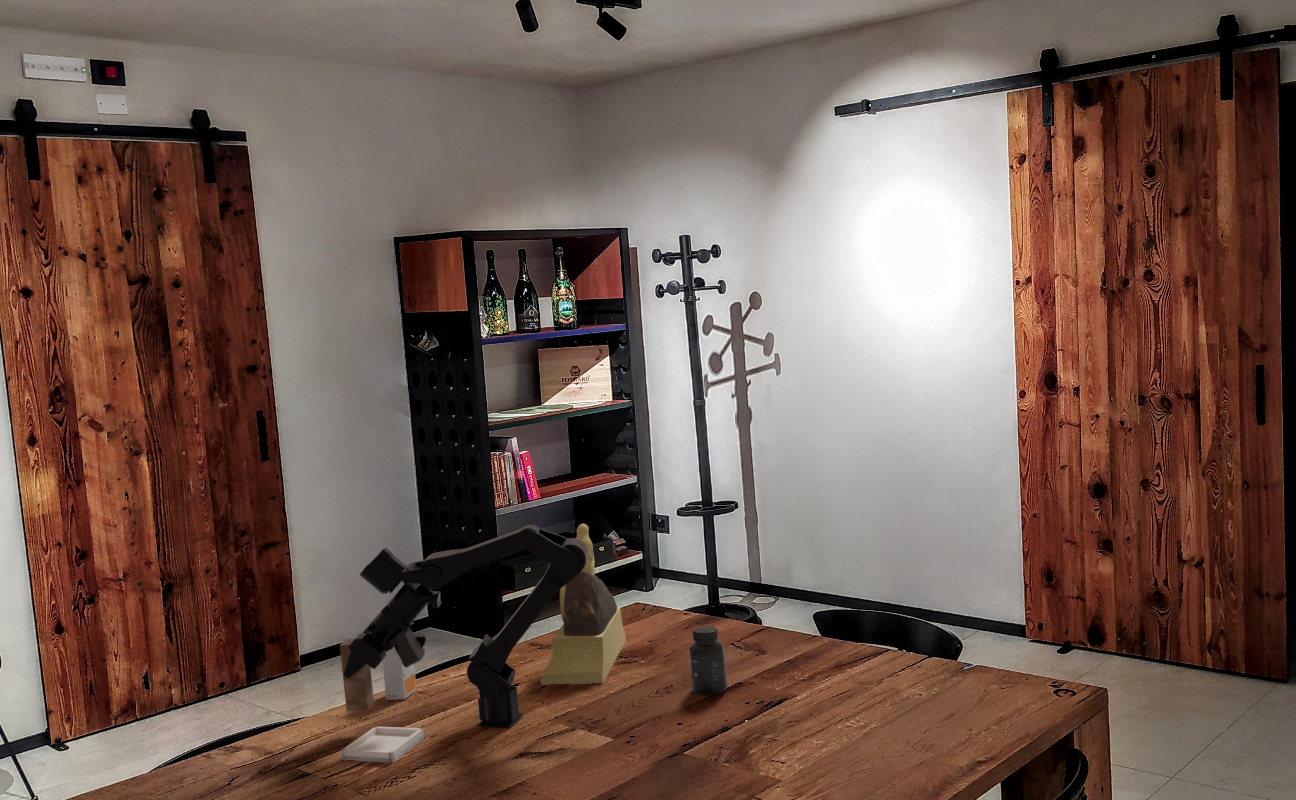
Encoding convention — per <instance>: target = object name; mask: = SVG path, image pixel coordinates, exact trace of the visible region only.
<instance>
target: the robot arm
mask: <svg viewBox="0 0 1296 800" xmlns="http://www.w3.org/2000/svg"><path fill="white" fill-rule="evenodd" d="M524 551H529V552H532V553H533V554H534V555H536V556H538V557H539V558H541V559H543V560H544V561H545V562H548V563H549V565H548V567H547V569H546V571H545V573H544V574H543V576H542V577H541V579H539V581H538V582H537V583H536V585H535V586H534V588H533V589H532V591H530V593H529V594H528V595H527V596H526V598H525V599H524V600H523V602H522V603H520V606H519V607H518V608H517V609H516V610H515V612H514V613H513V615H512V616H511V617H510V619H508V621H507V622H506V623H505V625H504V626H503V628H502V629H501V630H500V631H499V632H498V633H497V634H496V635H494V636H492V637H491V636H490V635H489V634H488V633H486V634H485V636H484V637H483V639H482V641H481V643H480V644H479V645H478V646H477V647H475V648H474V649H473V651H472V652H471V654H470V656H469V658H468V662H470V663H469V664H468V665H467V669H466V674H467V678H468V680H469V682H470V683H471V684H472V685H474V686H475V687H476V688H477V690H478V691H479V693H478V694H479V697H478V698H477V704H478V706H477V707H478V715H479V716H478V717H479V720H480V722H478V723H477V726H478V727H479V728H496V729H497V728H500V729H510V728H511V727H513V725H515V724H516V723H517V722H518V721H519V720H520V719H521V718H522V717H523V716H524V713H523V712H520V710H519V709H520V708H519V699H518V697H519V696H518V687H517V686H515V685H512V683H513V682H514V680H515V676H516V670H515V669H514V668H513V667H512V666H511V665H509V664H508V663H507V661H508V659H509V656H510V654H511V653H512V650H513V649H514V648H515V646H517V644H518V643H519V642H520V641H521V639H522V638H523V636H524V635H525V633H526V632H527V631H528V629H530V627H531V626H532V624H533V623H535V620H536V619H537V618H538V617H539V615H540V614H541V613H542V611H544V609H545V607H547V606H548V604H549V602H551V600H552V599H553V598H554V596H556V594H557V592H559V591H560V589H561V588H562V587H564V586H565V585H566V584H567V583H569V582H570V581H571V580H572V579H573V578H574V577H576V576H577V575H578V574H579V573H580V572H581V571H582V570H583V568H584V566H585V564H586V561H587V557H588V549H587V547H586V545H585V544H584V542H583V541H581V540H579V539H576V537H571V538H570V537H569V538H567V537H565V536H562V535H560V534H557V533H554V532H551V531H548V530H546V529H543V528H541V527H538V526H536V525H535V524H527V525H525V526H523V527H522V528H519V529H517V530H514V531H511V532H508V533H506V534H505V533H504V534H503V535H499V536H497V537H494V538H492V539H489V540H485V541H483V542H480V543H477V544H475V545H472V546H469V547H466V548H458V549H449V550H448V549H447V550H443V551H438V552H433V553H431V554H430V555H428V556H427V557H426V558H425V559H423V560H419V561H415V562H410V563H408V565H406V563H404V562H403V561H401V560H400V559H399V558H398V557H396V556H395V555H394V554H393V552H392V551H391V550H390V549H389V548H387V547H384V548H383V549H382V550H380V551H379V553H377V555H376V556H375V557H374V558H373V559H372V560H371V561H370V562H368V564H367V565H366V566H365V567H364V568H363V570H362V571H361V572H360V573H359V576H360V577H361V578H362V579H363V580H364V581H366V582H367V583H368V584H369V585H371V586H372V587H373V588H374V589H375V590H376V591H378V592H379V593H380V594H381V595H384V594H385V595H387V594H388V593H389V594H390V595H391V594H392V593H394V592H395V590H396V589H397V588H398V587H399V586H400V585H401V583H403V585H402V587H400V589H398V591H397V592H396V593H395V595H393V597H392V598H391V599H390V600H389V601H388V602H387V604H386V605H384V607H383V608H382V610H381V611H380V612H379V613H378V614H377V615H376V616H375V617H374V619H372V621H371V622H369V623H370V624H369V625H368V626H367V627H366V628H365V629H364V630H363V632H362V633H359V634H358V635H357V636H356V637H355V639H354V641H353V642H352V643H351V644H350V645H349V646H348V648H349V650H350V651H351V652H350V655H349V659H348V662H347V666H346V669H345V672H344V676H345V677H347V678H350V677H351V676H352V675H353V674H355V673H356V672H357V671H359V670H360V669H361V668H363V667H364V666H365V665H369V666H370V669H374V670H375V669H377V667H378V666H380V664H381V662H383V659H384V658H385V656H386V651H389V650H392V648H393V647H395V650H396V652H397V654H398V655H399V657H400V659H401V660H402V664H403V666H404V667H405V668H407V667H409V666H411V665H413V664H414V665H415V664H416V663H418V662H420V661H421V660H422V659H423V657H425V654H426V653H425V652H426V650H425V648H424V646H425V644H426V643H427V642H428V639H427V637H426V635H425V634H424V633H420V634H418V633H417V634H416V632H415V631H414V632H413V630H412V629H411V627H412V626H413V625H414V622H415V620H416V618H418V616H419V615H420V614H421V613H422V612H423V610H424V609H426V607H427V606H428V605H430V607H432V608H434V610H436V609H438V608H439V607H440V605H441V604H442V600H441V593H442V592H441V591H440V590H439V589H441V588H443V587H444V586H446V585H448V584H450V583H452V582H453V581H455V580H457V579H458V578H459V577H461V576H463V575H464V574H466V573H468V572H470V571H471V570H474V569H478V568H480V567H483V566H486V565H488V564H491V563H493V562H497V561H500V560H502V559H504V558H508V557H510V556H513V555H516V554H519V553H522V552H524ZM436 590H438V591H436Z"/></svg>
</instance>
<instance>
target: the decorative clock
mask: <svg viewBox="0 0 1296 800" xmlns="http://www.w3.org/2000/svg"><path fill="white" fill-rule="evenodd" d="M589 529H590V528H589V526H588V525H587V524H585V523H581V524H579V525H578V527H577V529H576V537H575V538H576V539H579V540H581V541H583V542H584V544H585V545H586V547H587V549H588V557H587V561H586V564H585V566H584V568H583V570H582V571H581V572H580V573H579V574H578V575H577V576H576V577H574V578H573V579H572V580H571V581H570V582H569V583H567V584H566V585H565V586H564V587H562V588H561V589H560V590H559V606H560V607H559V608H560V616H561V620H562V622H563V624H562V625H561V626H560V628H559V629H558V630H557V632H556V633H555V634H554V636H553V637H552V639H551V642H552V649H551V655H550V659H549V661H548V664H547V665H546V667H545V668H544V670H543V672H542V673H541V674H540V685H541V686H552V685H551V684H569V685H592V683H595V685H596V683H602V684H604V683H603V682H605V681H606V678H608V676H609V673H610V672H609V671H611V670H612V668H613V667H614V664H615V662H616V661H617V659H618V657H619V655H620V653H621V651H622V650H621V649H623V648H622V647H624V646H625V644H626V642H627V639H626V638H627V637H626V631H625V629H624V626H623V621H622V619H623V618H622V610H621V607H618V606H617V602H616V600H615V598H614V596H613V594H612V593H611V592H610V591H609V589H608V587H607V586H606V584H605V582H603V580H602V579H601V578H599V576H597V575H595V573H596V572H595V569H596V568H595V556H594V545H593V542H592V540H591V538H590V536H589V532H590V531H589ZM625 641H626V642H625ZM624 643H625V644H624ZM623 645H624V646H623ZM620 650H621V651H620ZM619 652H620V653H619ZM618 654H619V655H618ZM617 656H618V657H617ZM616 658H617V659H616ZM615 660H616V661H615ZM613 663H614V664H613ZM611 667H612V668H611ZM610 669H611V670H610ZM604 680H605V681H604ZM587 683H588V684H587ZM549 684H550V685H549Z"/></svg>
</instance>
